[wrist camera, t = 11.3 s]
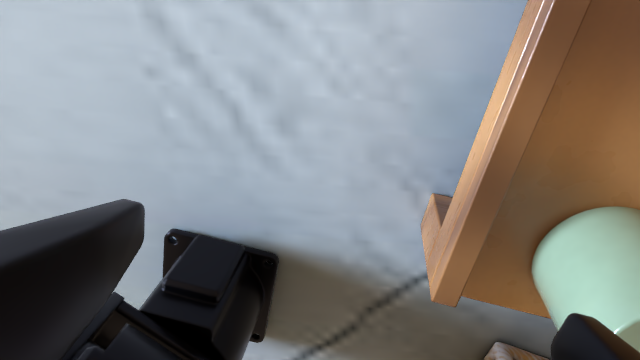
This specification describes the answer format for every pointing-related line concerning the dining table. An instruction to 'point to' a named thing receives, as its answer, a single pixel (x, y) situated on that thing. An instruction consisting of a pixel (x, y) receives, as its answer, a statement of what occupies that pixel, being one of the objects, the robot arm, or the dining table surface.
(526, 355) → the decorative jar
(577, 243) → the ceramic canister
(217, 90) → the dining table surface
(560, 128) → the shelf
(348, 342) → the dining table surface
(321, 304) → the dining table surface
